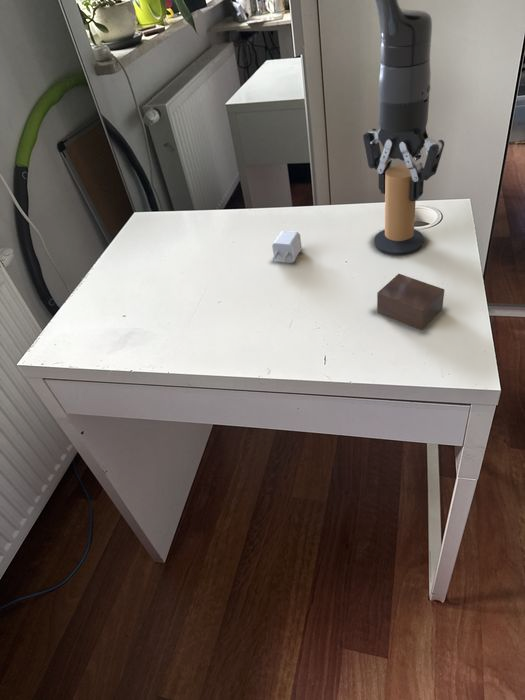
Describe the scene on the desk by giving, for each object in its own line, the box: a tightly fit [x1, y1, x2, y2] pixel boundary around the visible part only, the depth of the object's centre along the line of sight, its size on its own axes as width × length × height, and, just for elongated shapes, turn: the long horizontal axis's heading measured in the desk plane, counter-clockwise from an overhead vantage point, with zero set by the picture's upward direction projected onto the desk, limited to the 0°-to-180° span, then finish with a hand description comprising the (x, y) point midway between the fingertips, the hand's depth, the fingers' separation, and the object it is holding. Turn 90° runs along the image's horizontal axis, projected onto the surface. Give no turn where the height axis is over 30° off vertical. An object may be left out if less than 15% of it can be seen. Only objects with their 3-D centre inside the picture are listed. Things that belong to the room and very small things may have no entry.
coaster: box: [373, 228, 425, 256], centre depth 97 cm, size 9×9×1 cm
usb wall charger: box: [271, 230, 302, 264], centre depth 97 cm, size 4×7×4 cm, turn 158°
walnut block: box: [376, 273, 445, 331], centre depth 81 cm, size 6×8×4 cm
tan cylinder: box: [384, 164, 417, 241], centre depth 92 cm, size 12×5×12 cm
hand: (400, 195), depth 91 cm, fingers closed on tan cylinder, 5 cm apart
